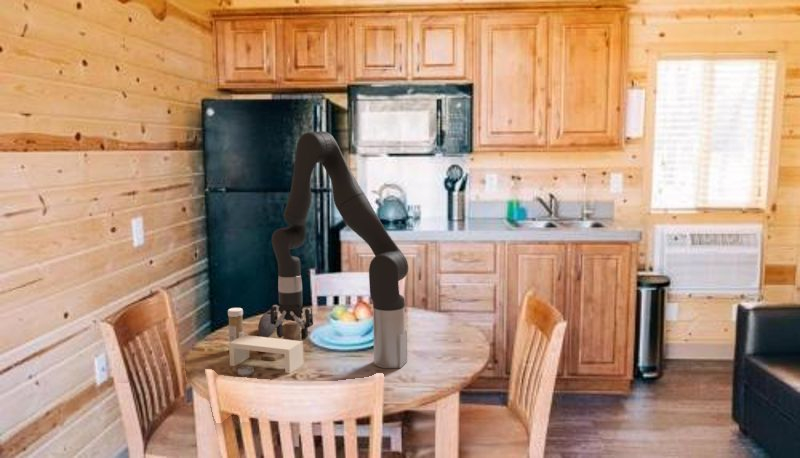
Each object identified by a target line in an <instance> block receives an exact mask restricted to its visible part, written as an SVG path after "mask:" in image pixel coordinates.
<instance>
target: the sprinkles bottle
mask: <svg viewBox="0 0 800 458" xmlns="http://www.w3.org/2000/svg"><path fill="white" fill-rule="evenodd" d="M243 315H244V310H243V308H241V307H231V308H229V309H228V310H227V317H228V334H229V335H228V337H229V343H230V342H232V341H234V340H235V339H237V338H239V337H241V336H243V335H245V334H244V325H243V324H244V323H243V320H244V319H243Z"/></svg>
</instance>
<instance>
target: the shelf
mask: <svg viewBox="0 0 800 458" xmlns="http://www.w3.org/2000/svg"><path fill="white" fill-rule="evenodd" d="M228 349H229V350H228V352H229V366H231V367H236V366H237V365H240V364H241V363H243V362H244V361H247V360H248V359H250V351H252V352H253V351H254V352H263V353H268V352H269V353H278V354H285V355H284V369H285V370H284V373H286V374H291V373H293V372H294V371H296V370H297V369H299V368H300V367H302V366H303V365H304V364H305V362H304V340H300V341H296V340H287V339H283V338H277V337H276V338H275V337H269V336H267V337H261V336H260V335H259V336H257V335H249V334H248V335H247V334H244V335H243V336H241V337H239V338H237V339H235V340H234V341H232V342H230V341H229V343H228Z"/></svg>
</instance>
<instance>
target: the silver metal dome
mask: <svg viewBox="0 0 800 458" xmlns="http://www.w3.org/2000/svg"><path fill="white" fill-rule="evenodd" d="M254 369H255V368H254V367H253V366H247V365H244V366H241V367H238V368H237V375H238V376H240V377H248V376H252V375H254V373H255V370H254ZM241 375H243V376H241Z"/></svg>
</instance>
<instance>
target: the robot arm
mask: <svg viewBox="0 0 800 458" xmlns="http://www.w3.org/2000/svg"><path fill="white" fill-rule="evenodd" d="M346 161H347V160H346V159H345V157H344V156H343V153H342V151H341V148H340V147H339V144H338V142H337V141H336V139H335V138H334V136H333V135H332V134H331V133H329V132H328V131H321V130H320V131H309V132H305V133H303V134H302V135H301V136H299V139H298V141H297V145H296V149H295V156H294V165H293V173H292V174H293V175H292V180H291V187H290V192H289V196H288V198H287V202H286V205H285V208H284V211H283V212H284V213H283V219H284V222H286V223H288V224H289V226H288V227H281V228H276V230H274V231H273V234H271V235H272V236H271V244H272V245H271V246H272V248H273V252H274V254H275V259H276V262H277V267H278V269H277V271H278V273H277V274H278V280H277V281H278V282H277V283H278V284H277V285H278V286H277V289H278V304H279V305H278V304H273V305H272V306H270V310H271V319H270V323H271V324H274V325H276V336H277V337H278V339H282V338H283V325H284V324H283V323H284V322H285V321H291V322H292V321H293V322H295V323H298V324H299V325H300V340H301V341H304V340H306V339H307V338H308V336H309V331H308V330H309V329H308V328H310V327H312V326H313V325H314V317H313V308H312V307H303V298H304V297H303V281H302V275H301V273H302V270H301V269H302V268H301V260H300V258H299V257H298V256H295V255H292V254H291V250H294V249H298V248H299V247H301V246H302V245H303V244H304V243H305V240H306V235H307V234H306V229H307V227H306V226H307V221H306V220H307V217H308V213H309V211H310V207H311V204H312V187H311V176H312V173H313V171H314V169H315V166H316V165H317V164H319V163H321V165H322V166H323V168H324V170H325V172H326V173H327V174H328V177H329V178H330V182H331V187H332V197H333V203H334V206H335V207H336V209H337V211H338V213H339V214H340V216H341V218H342V220H343V221H344V222H345V224H346V225H347V226H348V227H349V229H351V230H352V231H353V233H355V234H356V235H358V236H359V237H360V238H361V239H362V240H363V241H364V242H366V244H367V245H368V247H369V248H370V249H371V251H372V253H373V255H374V257H373V258H372V259H371V261H370V264H369V267H368V268H369V269H368V280H369V281H368V282H369V296H370V299H371V300H372V311H373V312H372V322H373V323H372V324H373V325H372V328H373V332H372V333H373V364H374V366H376V367H378V368H381V369H401V368H403V366H404V365H405V364H406V363H407V362H408V331H407V330H405V327H406V325H405V324H406V322H405V320H406V319H405V318H406V317H405V315H406V314H405V312H406V311H405V310H406V309H405V297H404V296H403V295H401V294H400V290H399V289H400V288H399V287H400V284H399V281H401V280H403V279H404V278H406V276H407V275H408V273H409V272H408V271H409V264H408V261H407V258H406V256H405V255H404V253H403V252H402V251H401V249H400V248H399V246H397V244H396V243H395V241H394V240H393V239H392V236H390V235H389V233H388V232H387V230H386V228H385V226H384V225H383V223H382V221H381V219H380V217H379V216H378V215H377V213H376V211H375V210H374V207H373V206H372V204H371V202H370V200H369V199H368V197H367V196H366V194H365V192H364V191H363V190H362V188H361V186H360V185H359V183H358V182H357V179H356V177H355V176H354V174H353V172H352V171H351V169H350V167H349V166H348V163H347V162H346ZM278 312H279V313H280V315H279V314H278ZM278 315H279V317H278Z"/></svg>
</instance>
